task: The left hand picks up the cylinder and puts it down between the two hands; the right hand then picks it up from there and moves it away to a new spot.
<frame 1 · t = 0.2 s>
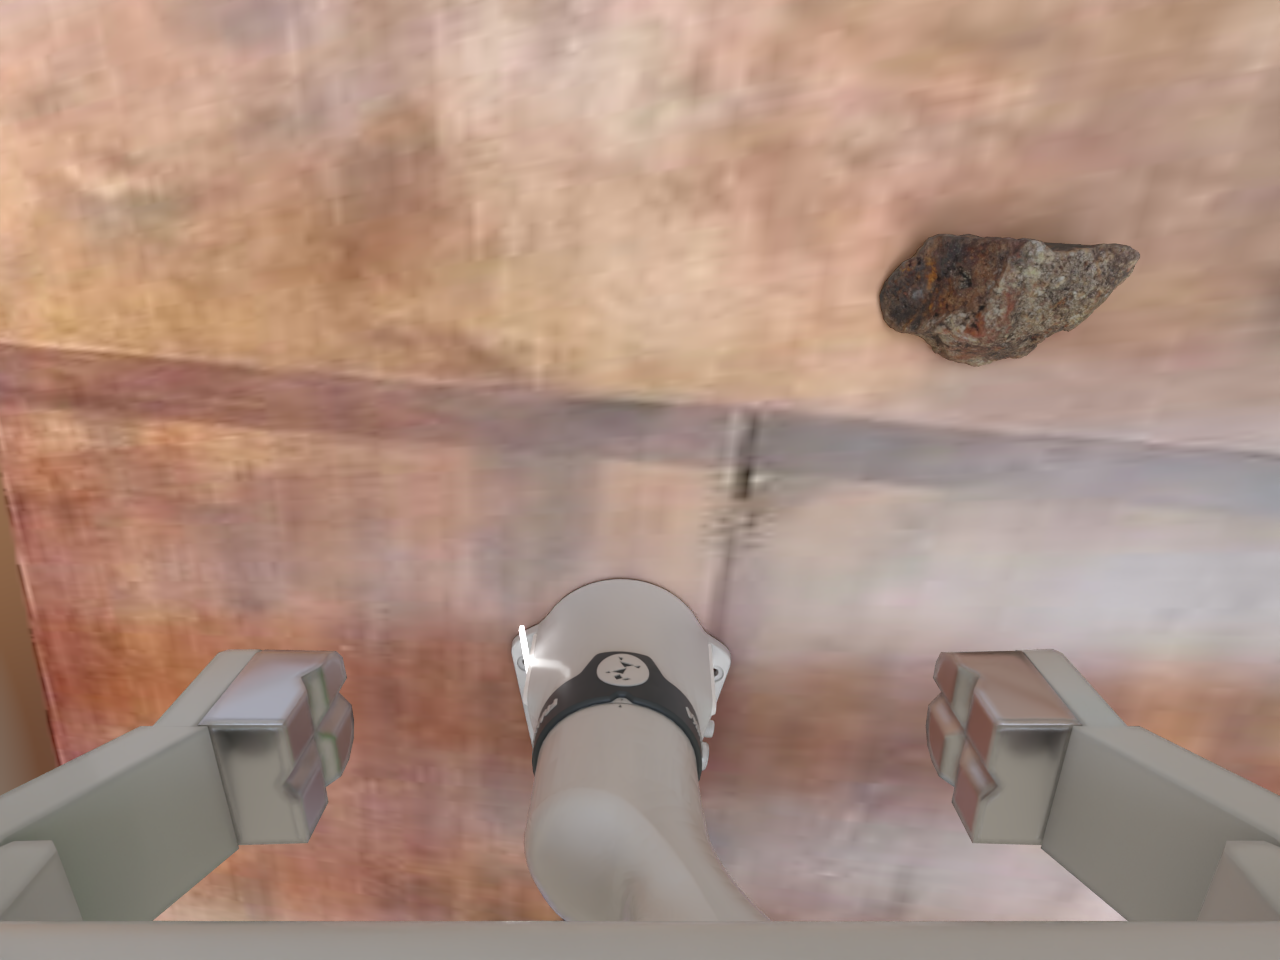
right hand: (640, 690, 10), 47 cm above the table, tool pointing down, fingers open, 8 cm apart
rock: (980, 292, 55), on the table
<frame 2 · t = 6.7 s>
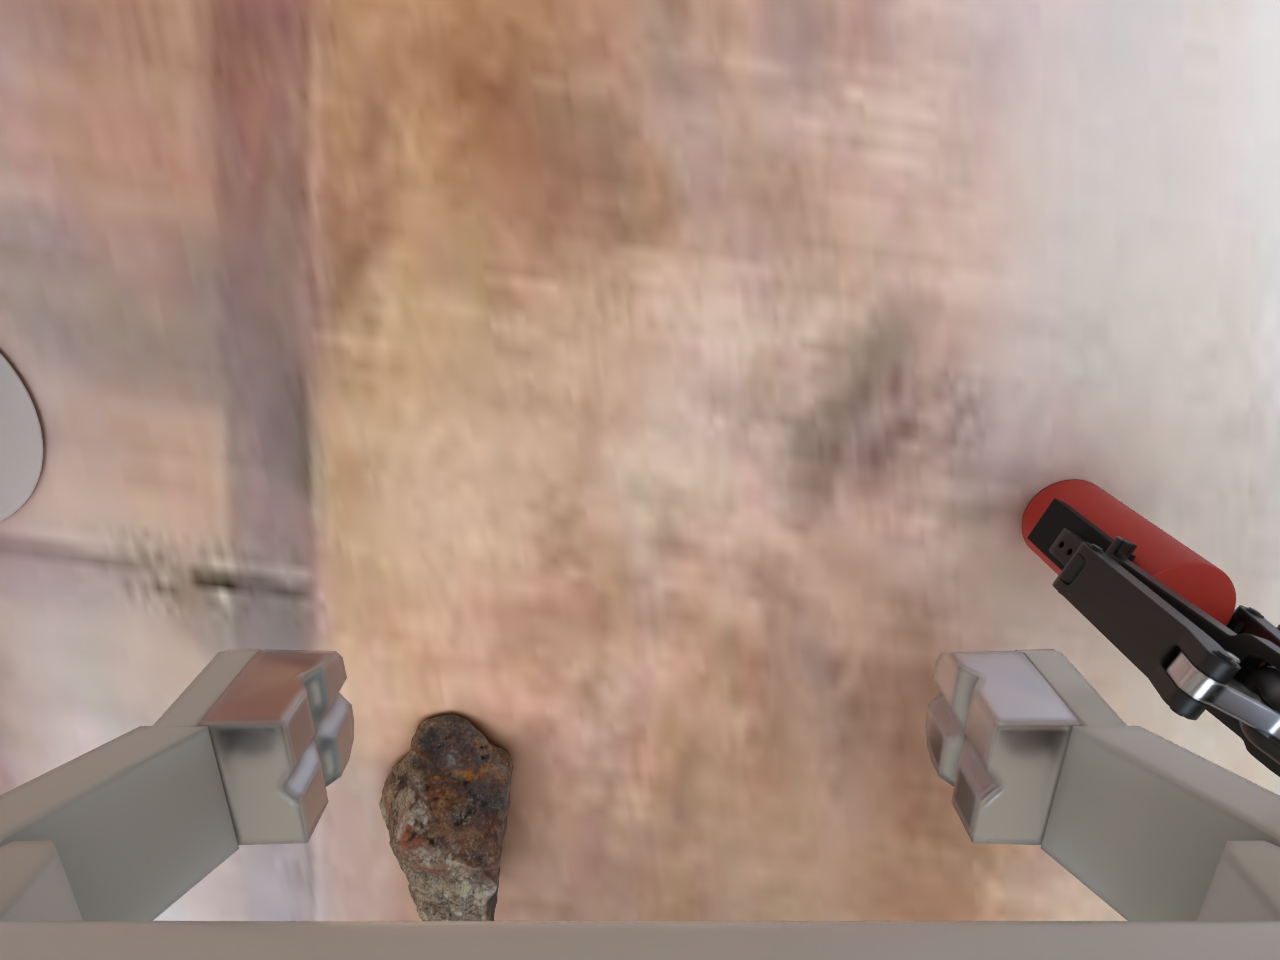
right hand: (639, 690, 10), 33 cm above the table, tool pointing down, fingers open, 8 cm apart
cylinder: (1065, 519, 46), on the table, touching left hand
rock: (457, 795, 54), on the table
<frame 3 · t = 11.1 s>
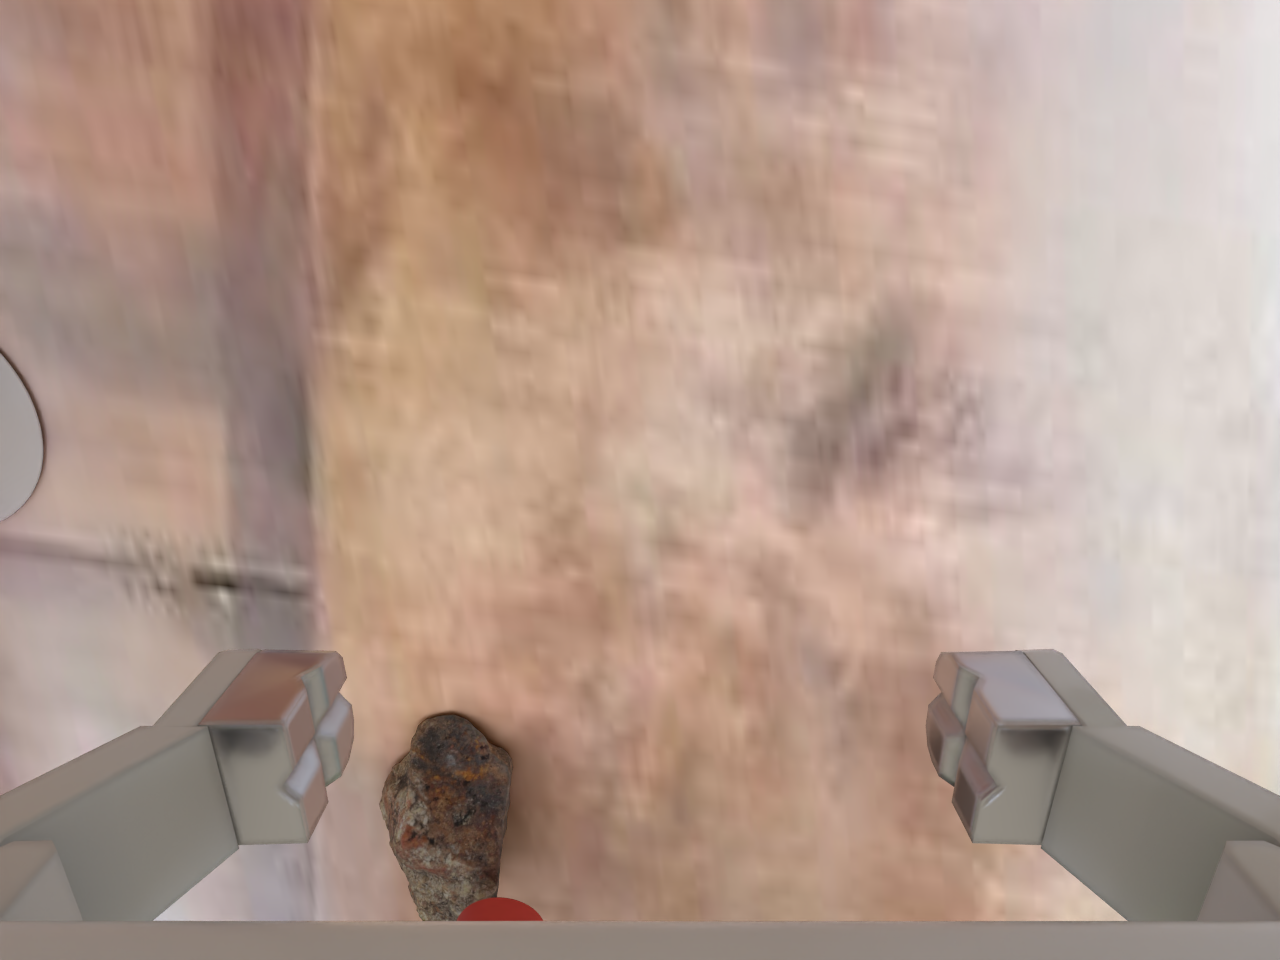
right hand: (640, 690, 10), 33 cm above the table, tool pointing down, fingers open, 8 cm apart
cylinder: (501, 929, 44), point 11 cm above the table, touching left hand
rock: (457, 795, 54), on the table
when the left hand's fingers open (5 cm above the table, at t = 16.0 s): cylinder drops 2 cm, on the table.
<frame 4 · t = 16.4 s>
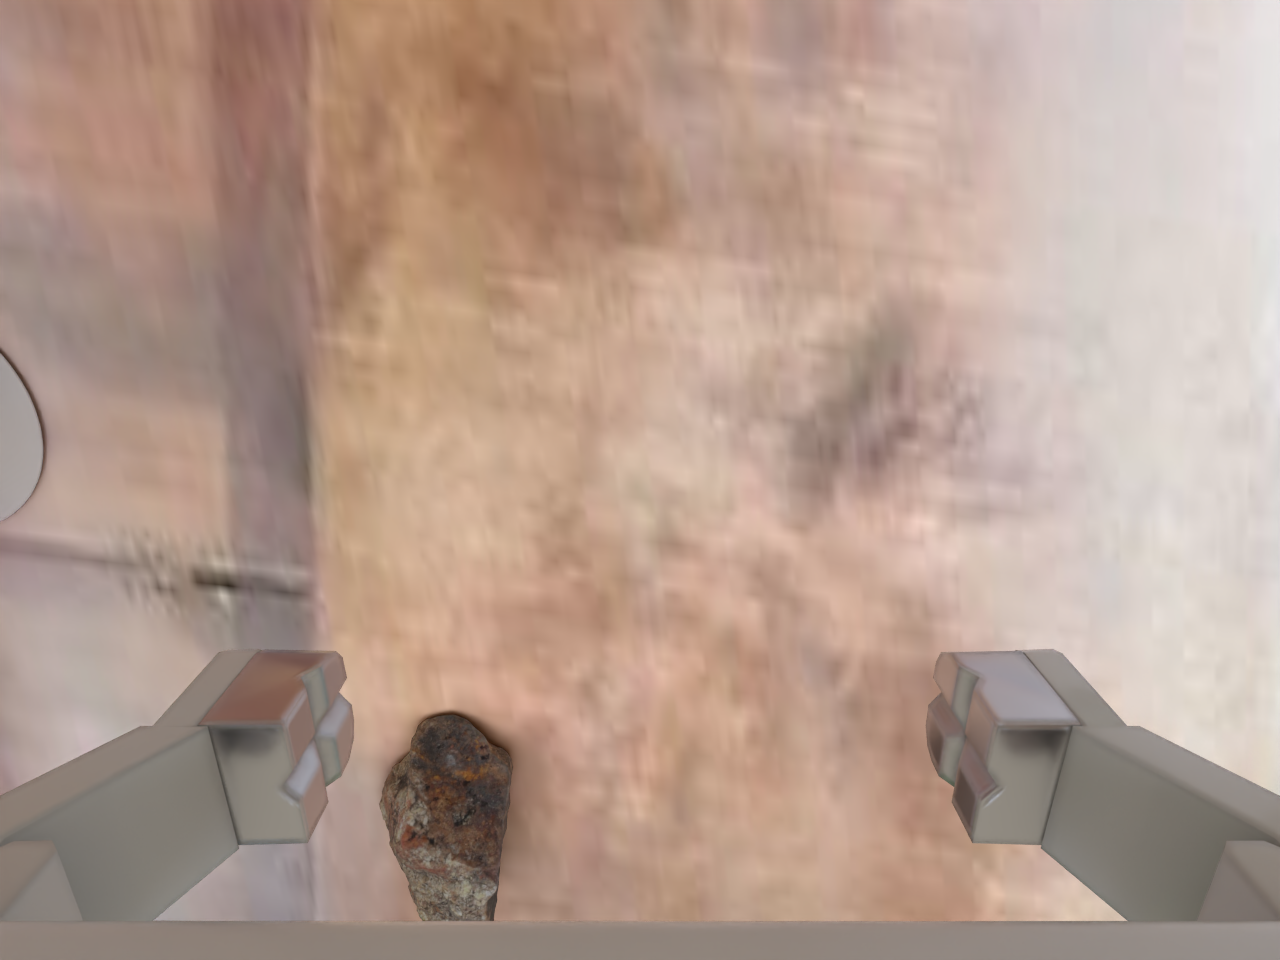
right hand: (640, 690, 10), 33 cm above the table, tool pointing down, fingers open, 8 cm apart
rock: (457, 795, 54), on the table
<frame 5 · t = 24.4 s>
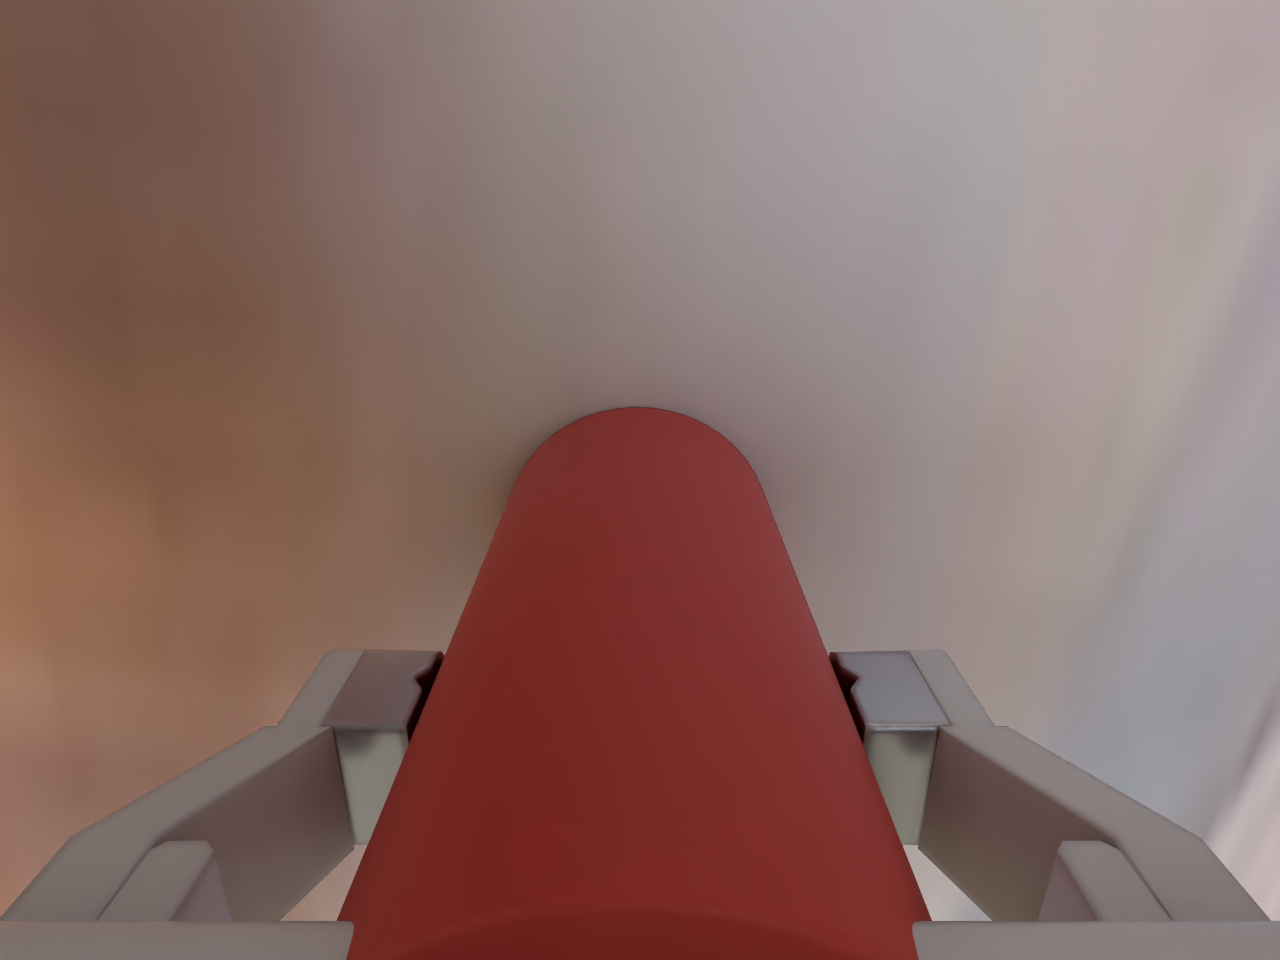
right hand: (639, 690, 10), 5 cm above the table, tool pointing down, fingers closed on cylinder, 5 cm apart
cylinder: (637, 531, 15), on the table, touching right hand
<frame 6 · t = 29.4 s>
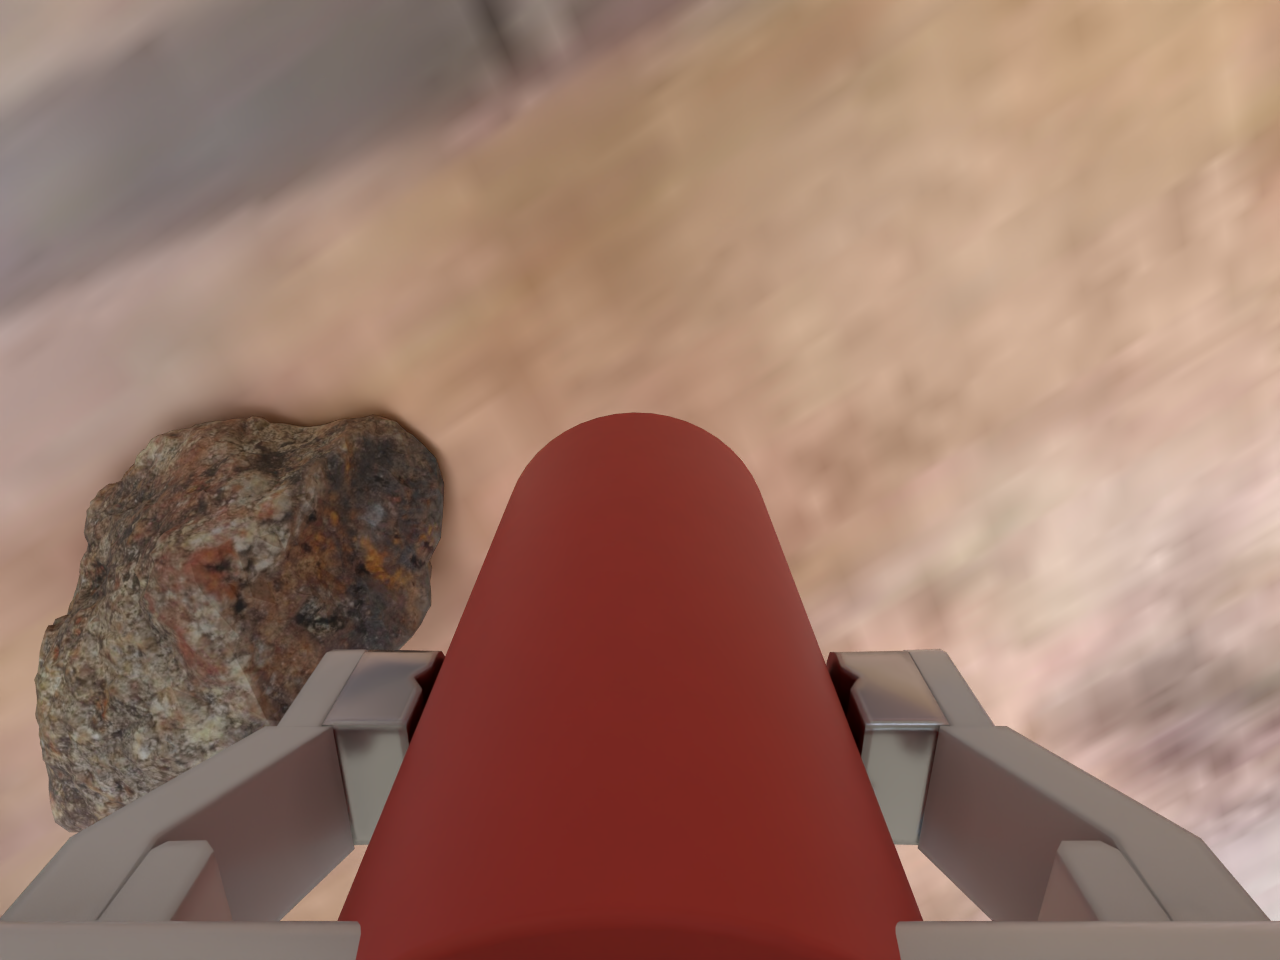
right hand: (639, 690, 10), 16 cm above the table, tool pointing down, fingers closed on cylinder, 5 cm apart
cylinder: (636, 536, 15), point 11 cm above the table, touching right hand
rock: (268, 543, 28), on the table
when the right hand's fingers open (7 cm above the table, at t = 34.6 s): cylinder drops 2 cm, on the table.
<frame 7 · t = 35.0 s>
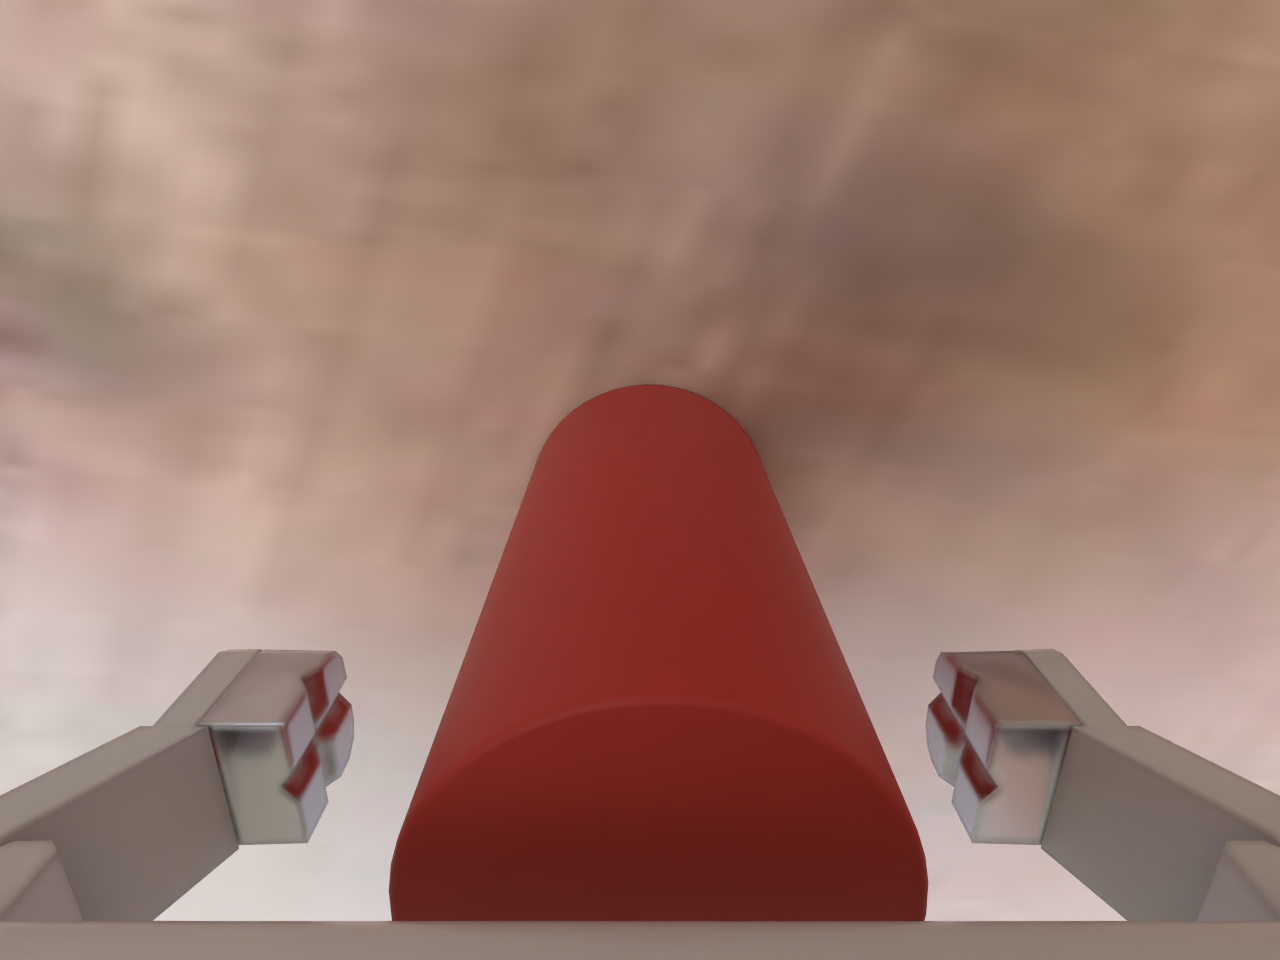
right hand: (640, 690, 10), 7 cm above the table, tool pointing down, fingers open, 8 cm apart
cylinder: (648, 496, 17), on the table
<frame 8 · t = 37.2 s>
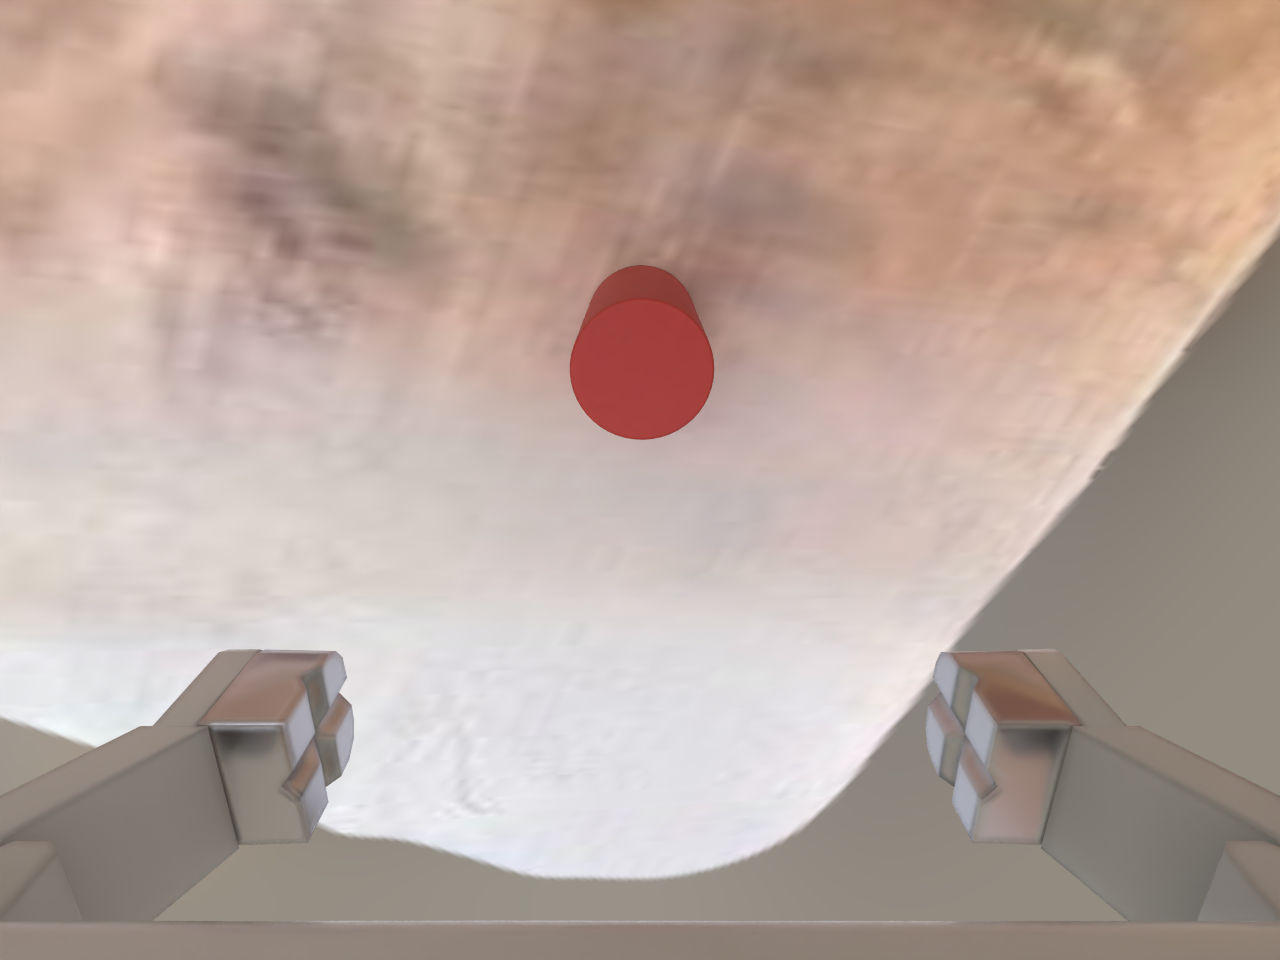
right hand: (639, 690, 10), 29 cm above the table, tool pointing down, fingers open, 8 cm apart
cylinder: (641, 320, 37), on the table
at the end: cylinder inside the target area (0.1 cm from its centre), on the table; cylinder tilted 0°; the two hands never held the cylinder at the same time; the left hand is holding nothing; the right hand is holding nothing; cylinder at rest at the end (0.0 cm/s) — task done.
